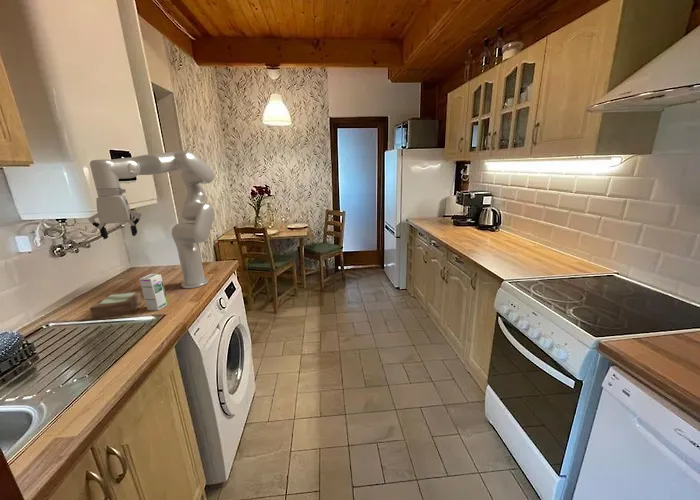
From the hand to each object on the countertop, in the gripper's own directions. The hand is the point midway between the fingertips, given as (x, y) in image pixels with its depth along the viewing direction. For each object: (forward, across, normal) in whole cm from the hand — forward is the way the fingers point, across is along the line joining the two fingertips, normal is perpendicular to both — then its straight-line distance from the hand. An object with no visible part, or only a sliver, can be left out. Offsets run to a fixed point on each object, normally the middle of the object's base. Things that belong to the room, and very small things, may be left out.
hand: (120, 236), depth 126 cm
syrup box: (+32, -7, -1) cm, 33 cm away
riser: (+32, +8, -6) cm, 34 cm away
